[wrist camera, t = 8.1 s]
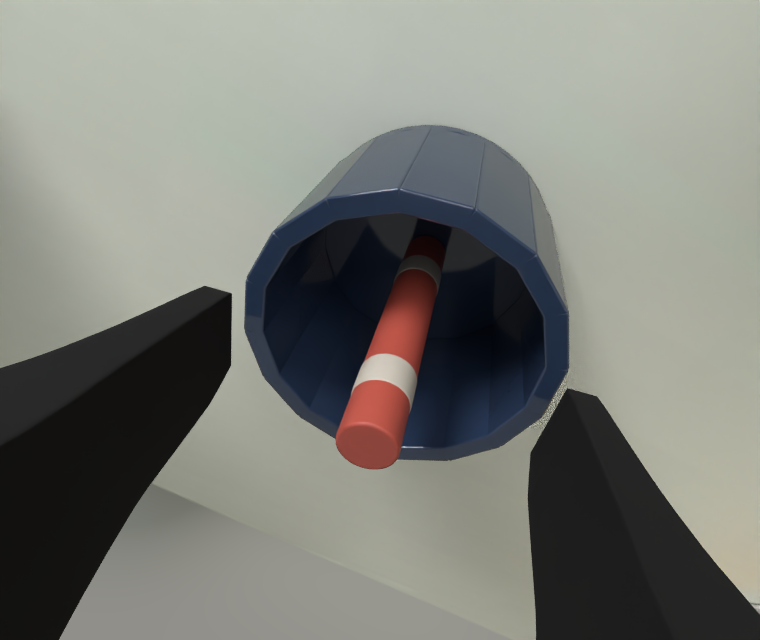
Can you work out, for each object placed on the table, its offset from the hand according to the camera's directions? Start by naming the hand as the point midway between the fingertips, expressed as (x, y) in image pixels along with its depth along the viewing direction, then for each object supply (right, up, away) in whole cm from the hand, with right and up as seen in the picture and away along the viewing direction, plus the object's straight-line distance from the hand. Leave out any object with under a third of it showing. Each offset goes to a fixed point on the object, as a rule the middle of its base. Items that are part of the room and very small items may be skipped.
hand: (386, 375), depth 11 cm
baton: (+1, +3, +5) cm, 6 cm away
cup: (+1, +4, +5) cm, 6 cm away
